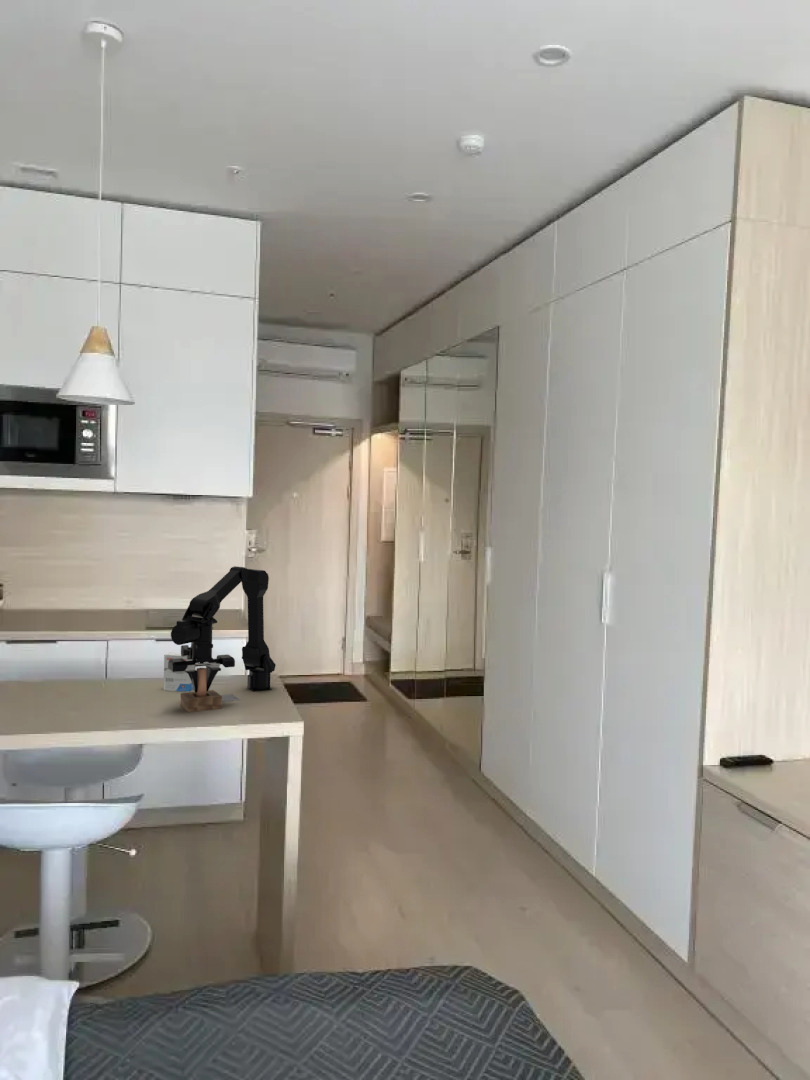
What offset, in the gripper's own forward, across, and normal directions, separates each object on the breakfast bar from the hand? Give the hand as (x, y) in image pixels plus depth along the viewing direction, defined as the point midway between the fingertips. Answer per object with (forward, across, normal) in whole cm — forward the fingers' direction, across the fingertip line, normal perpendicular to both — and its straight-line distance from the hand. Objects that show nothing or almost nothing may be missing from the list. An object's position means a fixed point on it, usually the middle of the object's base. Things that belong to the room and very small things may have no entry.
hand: (201, 691), depth 249 cm
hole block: (+5, 0, 0) cm, 5 cm away
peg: (+2, 0, 0) cm, 2 cm away
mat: (+5, -10, -7) cm, 13 cm away
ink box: (+5, 0, -24) cm, 24 cm away
